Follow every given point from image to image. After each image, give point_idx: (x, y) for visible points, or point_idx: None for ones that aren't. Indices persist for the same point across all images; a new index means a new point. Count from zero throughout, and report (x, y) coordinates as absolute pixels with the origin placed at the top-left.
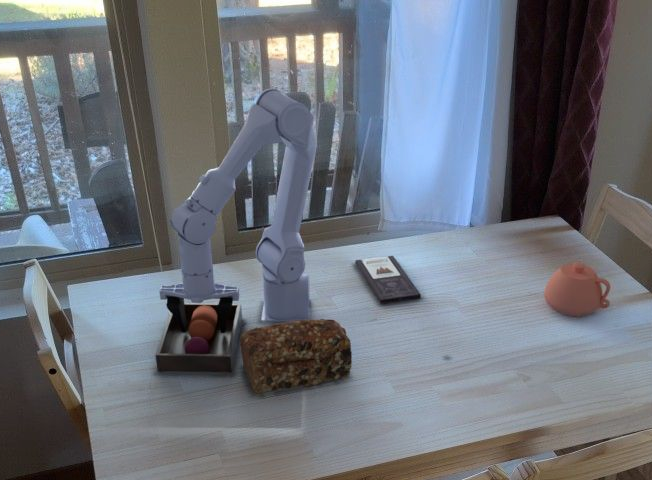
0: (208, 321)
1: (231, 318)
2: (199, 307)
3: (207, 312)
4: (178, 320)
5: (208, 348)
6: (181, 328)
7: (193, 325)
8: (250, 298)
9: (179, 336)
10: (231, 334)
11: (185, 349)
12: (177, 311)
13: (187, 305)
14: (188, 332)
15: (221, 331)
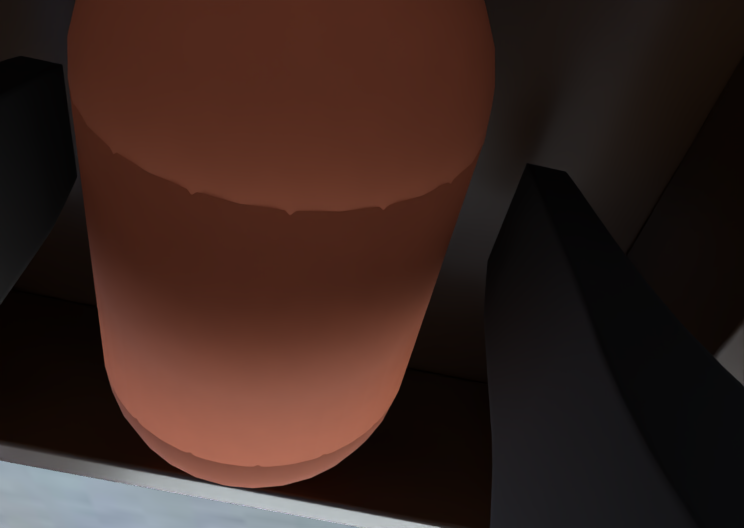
0: (106, 163)
1: (50, 312)
2: (287, 469)
3: (158, 367)
4: (637, 296)
5: None
6: (579, 202)
7: (392, 101)
8: (17, 477)
9: (595, 149)
10: None
11: None
12: (703, 454)
13: (439, 514)
14: (478, 201)
15: (37, 70)
